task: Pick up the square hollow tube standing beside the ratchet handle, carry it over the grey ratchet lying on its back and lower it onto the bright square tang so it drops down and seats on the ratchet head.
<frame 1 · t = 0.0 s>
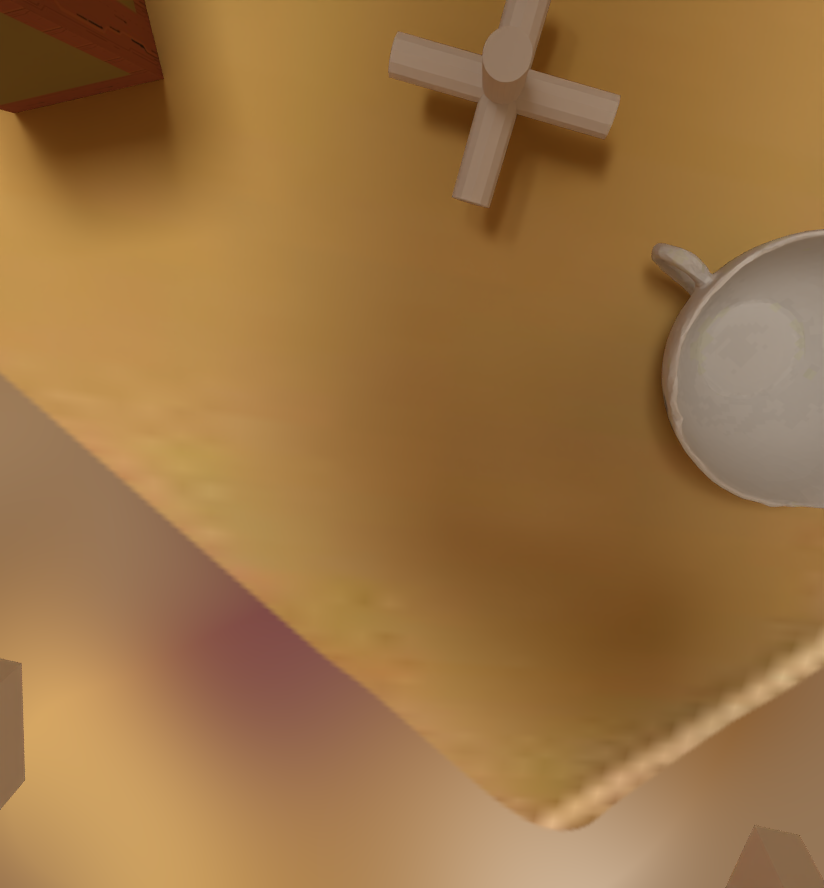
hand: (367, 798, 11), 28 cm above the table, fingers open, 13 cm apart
pipe connector: (499, 108, 33), on the table
teacup: (730, 334, 35), on the table
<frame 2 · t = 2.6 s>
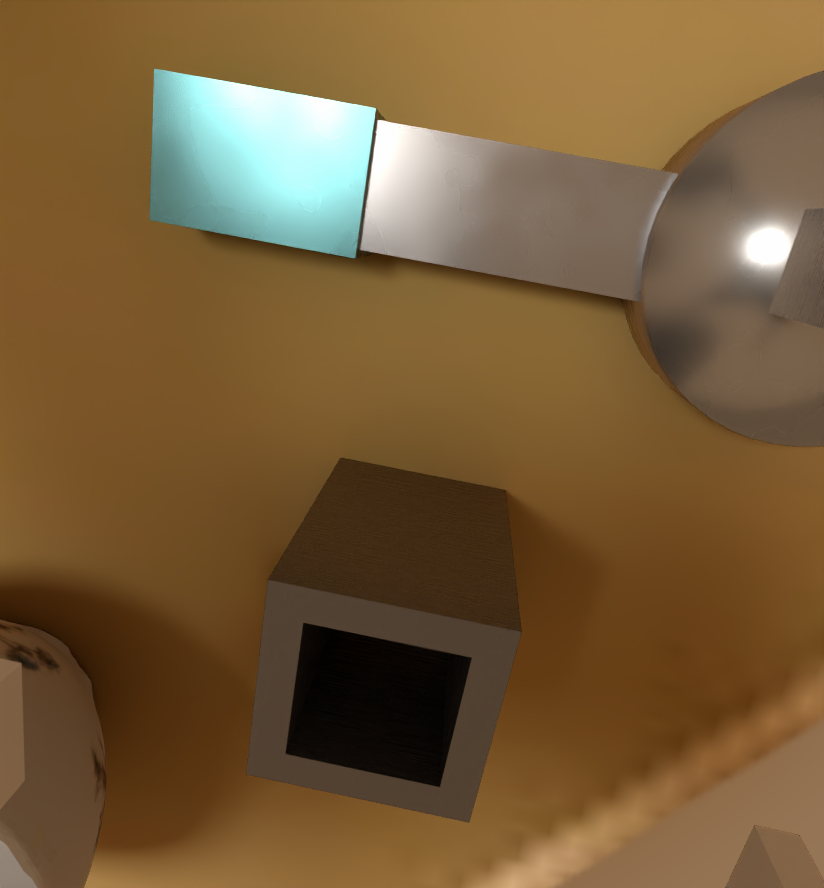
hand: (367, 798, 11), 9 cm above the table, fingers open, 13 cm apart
square hollow tube: (408, 547, 20), on the table
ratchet: (784, 265, 16), on the table
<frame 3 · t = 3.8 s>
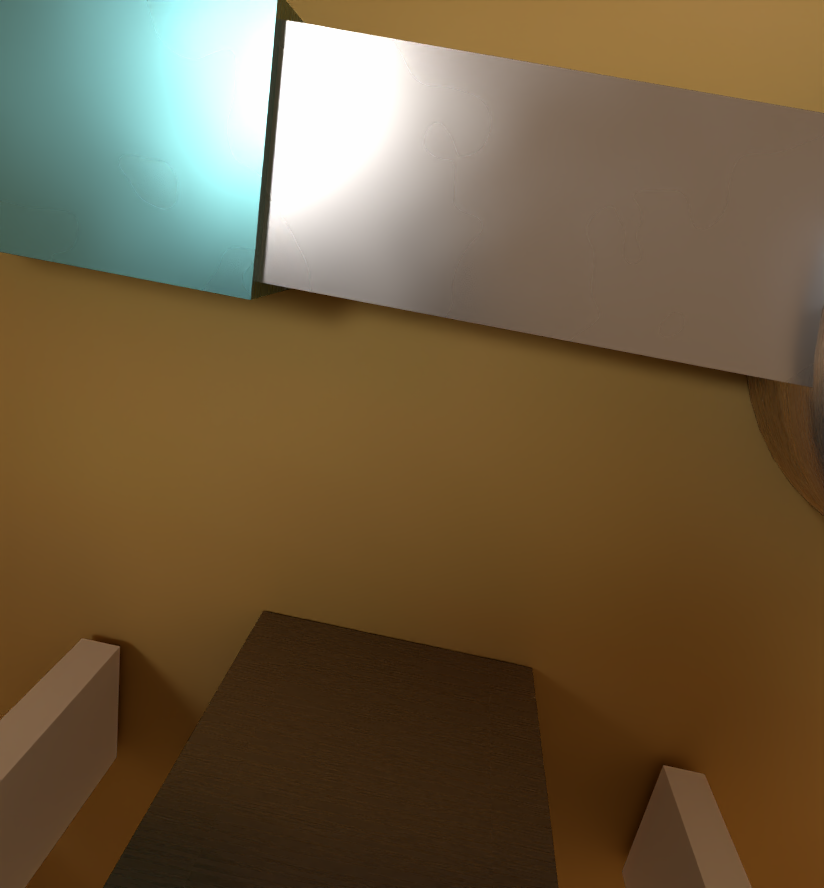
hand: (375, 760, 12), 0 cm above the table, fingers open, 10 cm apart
square hollow tube: (375, 745, 12), on the table
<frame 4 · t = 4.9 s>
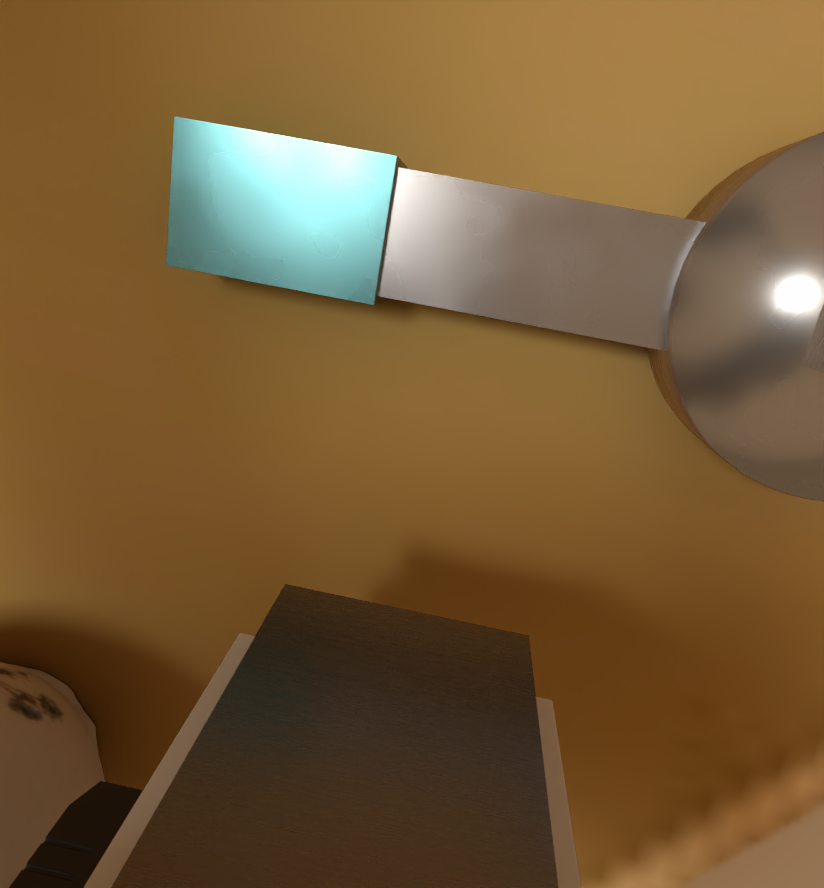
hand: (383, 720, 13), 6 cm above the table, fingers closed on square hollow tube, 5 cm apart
square hollow tube: (385, 709, 14), point 6 cm above the table, touching gripper
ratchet: (814, 313, 16), on the table
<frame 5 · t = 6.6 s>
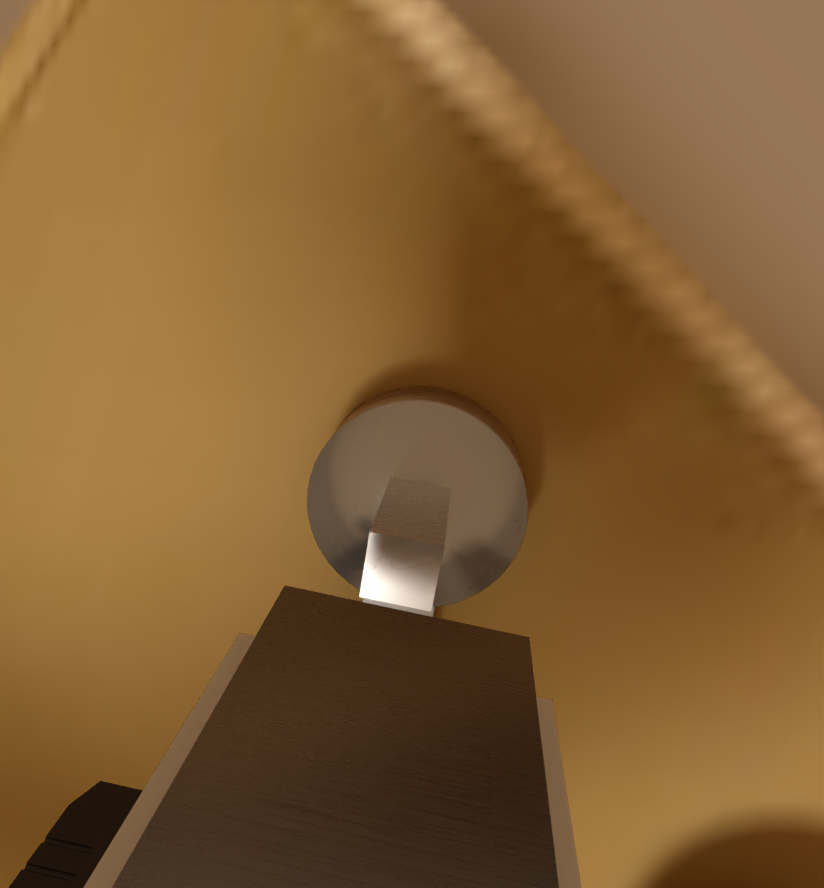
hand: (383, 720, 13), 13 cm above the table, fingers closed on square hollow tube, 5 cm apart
square hollow tube: (385, 710, 13), point 12 cm above the table, touching gripper
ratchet: (421, 485, 25), on the table
when the fingers open (3 cm above the table, at t = 8.3 s): square hollow tube stays where it is, resting on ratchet.
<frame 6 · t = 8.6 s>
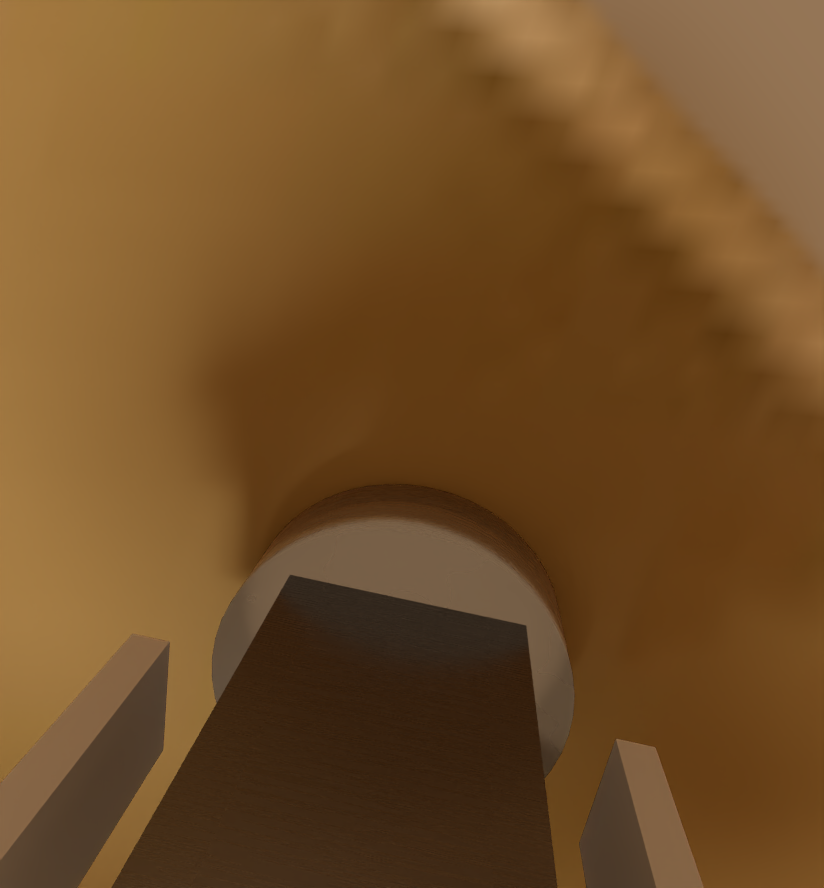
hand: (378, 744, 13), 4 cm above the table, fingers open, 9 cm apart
square hollow tube: (387, 696, 14), point 2 cm above the table, touching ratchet
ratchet: (401, 629, 16), on the table
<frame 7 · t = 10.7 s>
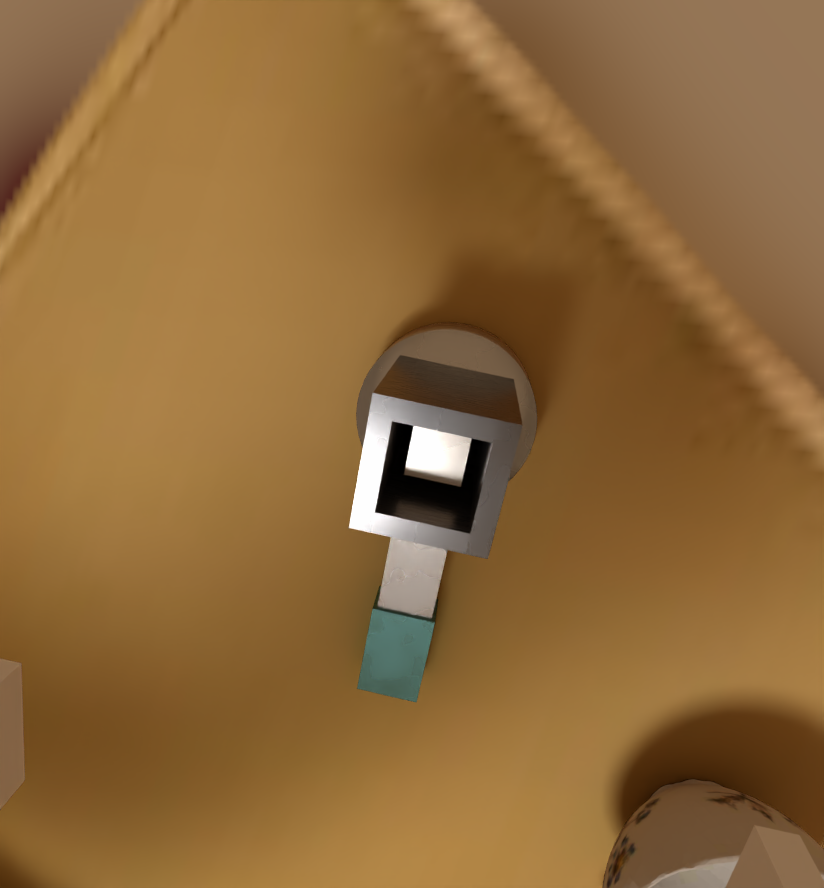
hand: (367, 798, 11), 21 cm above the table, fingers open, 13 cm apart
square hollow tube: (444, 421, 28), point 2 cm above the table, touching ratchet
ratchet: (448, 406, 30), on the table
teacup: (674, 825, 37), on the table
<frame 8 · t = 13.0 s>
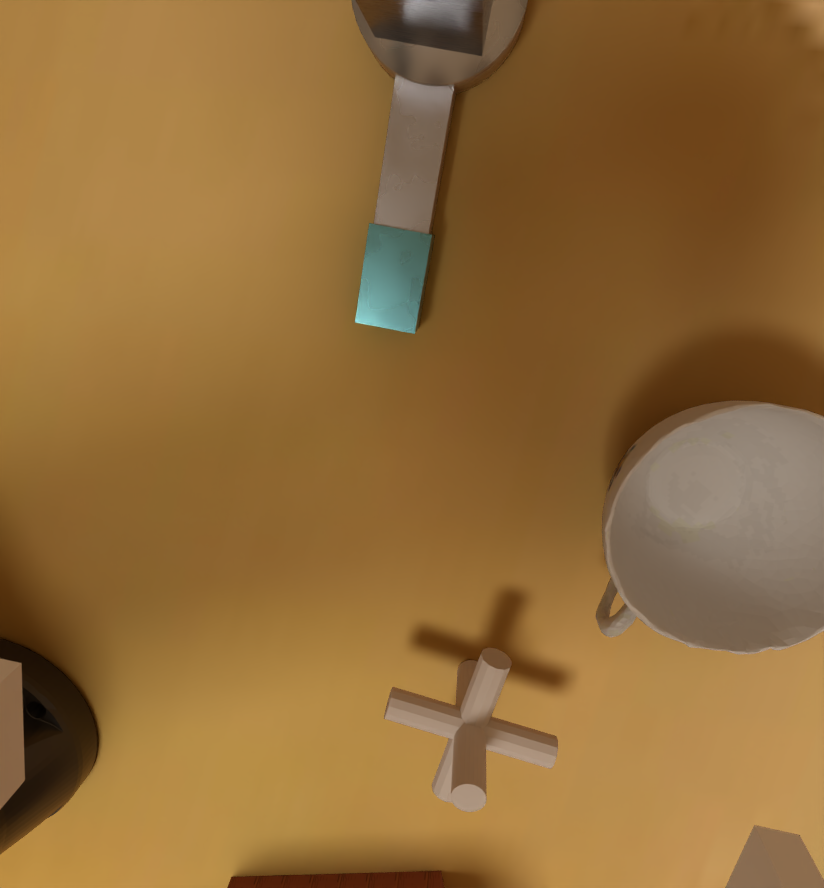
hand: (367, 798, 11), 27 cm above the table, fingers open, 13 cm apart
pipe connector: (471, 669, 42), on the table
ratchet: (442, 2, 30), on the table
teacup: (675, 491, 37), on the table
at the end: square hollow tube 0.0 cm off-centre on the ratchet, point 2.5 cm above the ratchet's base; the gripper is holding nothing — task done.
